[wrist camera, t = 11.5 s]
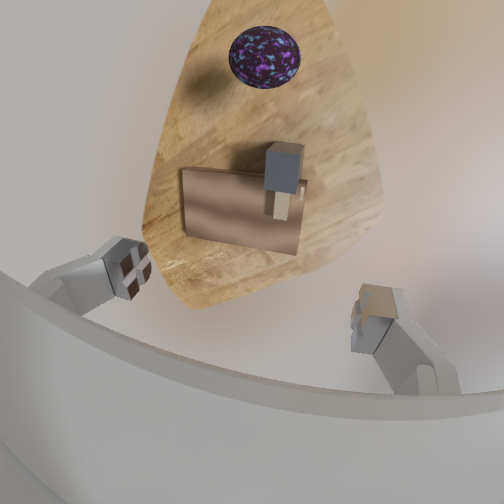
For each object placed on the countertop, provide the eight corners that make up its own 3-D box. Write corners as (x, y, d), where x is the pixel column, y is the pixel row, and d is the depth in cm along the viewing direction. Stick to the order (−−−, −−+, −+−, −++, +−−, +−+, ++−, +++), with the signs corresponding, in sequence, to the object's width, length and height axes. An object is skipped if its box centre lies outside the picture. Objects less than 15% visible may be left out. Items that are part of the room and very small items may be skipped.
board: (187, 166, 41) (181, 170, 40) (307, 180, 38) (306, 184, 36) (191, 230, 48) (186, 236, 46) (297, 249, 45) (295, 256, 43)
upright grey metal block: (276, 141, 36) (266, 150, 30) (304, 144, 35) (300, 154, 29) (270, 208, 41) (260, 228, 36) (296, 212, 41) (290, 234, 35)
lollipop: (258, 92, 33) (220, 90, 20) (255, 48, 29) (215, 24, 17) (308, 92, 31) (299, 86, 19) (305, 46, 27) (294, 15, 15)
